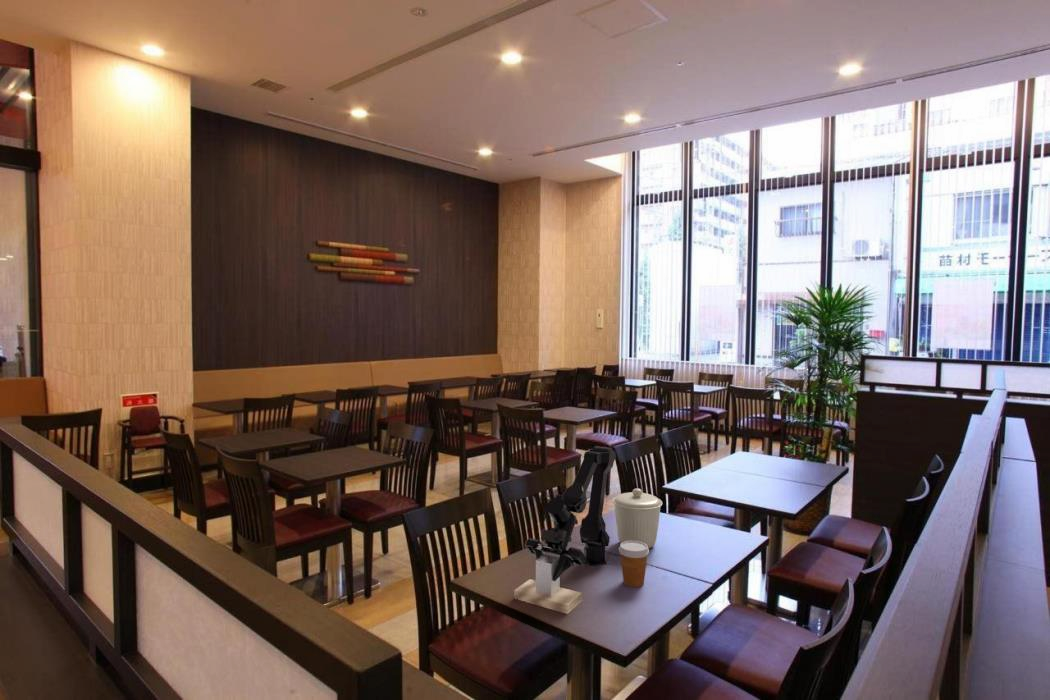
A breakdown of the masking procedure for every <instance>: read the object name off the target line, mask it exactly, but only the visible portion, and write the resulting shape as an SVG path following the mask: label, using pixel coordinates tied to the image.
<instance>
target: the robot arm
mask: <svg viewBox="0 0 1050 700" xmlns="http://www.w3.org/2000/svg"><path fill="white" fill-rule="evenodd" d="M616 454H617V453H616V452H615V451H614V449H613V448H612V447H606V446H597V445H595V446H594V447H593V448H589V449H587V451H585V452H584V454H583V460H582V462H581V465H580V466H579V469H578V471H577V473H576V475H575V477H574V481H573V482H572V484H571V485H569V487H567V488H565V490H564V492H563V494H556V495H555V497H552V498H551V499H549V501H547V503H546V505H545V509H546V511H547V513H548V515H549V516H550V517H551V519H552V520H553V521H554V522H555V524H554V526H553V527H551V528H550V530H549V529H545V528H542V531H541V535H540V538H539V539H540V540H539V539H536V538H532V537H529V538H527V539H526V540H525V543H524V546H525V548H526V549H527V551H529V553H530V554H532V555H535V556H536V557H535V560H537V559H538V558H540V557H541V556H542V555H544V554H551V555H556V556H559V563H558V566H557V568H556V571H555V573H554V576H553V581H556V580H557V579H558V578H559V577H560V578H561V576H562V575H563V574H564V573H565V572H566V571H567V570H568V569H570V568H571V567H574V566H575V565H578V566H581V567H582V566H583V567H584V566H585V565H586V563H587V565H589V566H593V565H601V564H604V565H605V564H607V563H608V561H607V560H606V548H607V547H609V544H610V542H611V541H610V539H611V538H610V536H609V534H608V532H607V531H606V526H607V525H606V522H605V519H604V518H603V511H604V503H605V502H604V501H605V495H606V487H607V479H608V473H609V472H610V471H612V468H613V467H614V463H615V460H616V456H617V455H616ZM590 483H591V488H590V494H589V495H590V497H589V498H590V499H589V503H588V504H589V505H588V512H587V514H586V516H585V517H583V518H581V524H580V528H579V536H580V543H581V544H584V547H583V551H582V549H581V548H577V547H572V546H571V547H569V548H568V546H569V543H571V542H572V540H573V538H572V534H573V532H574V528H575V526H576V525H578V524H579V521H578V519H577V515H575V514H580V513H583V512H584V510H585V509H586V507H587V501H588V498H587V490H588V488H589V486H590ZM574 513H575V514H574ZM541 541H544V543H545V545H544V544H543V543H542V542H541ZM546 544H547V545H546ZM567 548H568V549H567Z"/></svg>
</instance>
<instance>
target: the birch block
mask: <svg viewBox="0 0 1050 700" xmlns="http://www.w3.org/2000/svg"><path fill="white" fill-rule="evenodd" d="M513 593H514V595H513V599H514V598H515V599H514V600H517V599H518V601H522V602H524V601H525V602H524V603H529V604H532V605H536V606H539V607H542V608H545V609H549V610H552V611H555V612H558V613H559V612H560V613H562V614H566V615H568V614H569V613H571V612H572V611H573V610H574V609H575V608H576V607H577V606H578V605H579V604H581V602H583V601H582V600H583V596H582V593H583V592H581V591H577V590H576V591H575V590H571V589H568V588H565V587H560V591H558V592H557V593H556V594H555V595H553V596H552V597H548V596H544V595H541V594H537V593H536V579H535V580H534V579H531V578H530V579H528V580H527V581H525V582H524V583H522V584H521V585H519V586H518V587H516V589H514V591H513Z"/></svg>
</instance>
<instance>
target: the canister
mask: <svg viewBox="0 0 1050 700" xmlns="http://www.w3.org/2000/svg"><path fill="white" fill-rule="evenodd" d="M612 503H613V505H614V513H615V516H614V517H615V524H616V532H617V538H618V542H619V543H620V544H621V543H622V542H625V541H639V542H643V543H645V544H646V545H647V546H648V549H651V548H652V547H654V546H655V544H656V542H657V537H658V529H659V523H660V514H661V507H662V505H663V501H662V500H661V499H660V498H658V497H657V496H655V495H653V494H650V493H645V492H643V491H642V489H641V488H634V489H632V492H631V491H630V492H623V493H619V494H618V495H617V496H615V497H613V498H612Z"/></svg>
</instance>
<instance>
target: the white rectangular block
mask: <svg viewBox="0 0 1050 700" xmlns="http://www.w3.org/2000/svg"><path fill="white" fill-rule="evenodd" d="M559 557H560V556H559ZM559 557H558V556H554V555H549V554H547V553H545V554H544V555H542V556H541V557H540V558H538V559H535V581H536V593H537V594H541V595H544V596H548V597H552V596H553V595H555V594H556V593H557V592H558V591H560V583H561V582H560V581H561V580H560V579H561V576H560V577H559V578H558V579H557V580H556V581H553V576H554V573H555V571H556V568H557V566H558V563H559Z"/></svg>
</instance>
